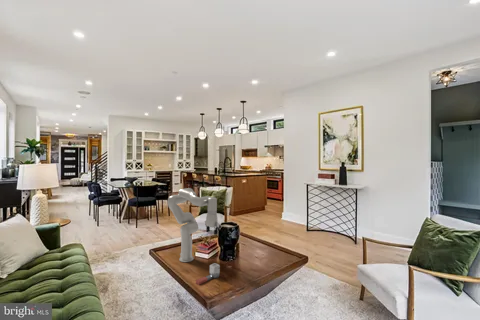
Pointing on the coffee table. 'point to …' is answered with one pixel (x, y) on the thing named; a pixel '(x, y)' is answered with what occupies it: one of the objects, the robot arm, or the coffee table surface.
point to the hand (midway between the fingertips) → (211, 233)
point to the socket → (214, 269)
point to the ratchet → (206, 278)
